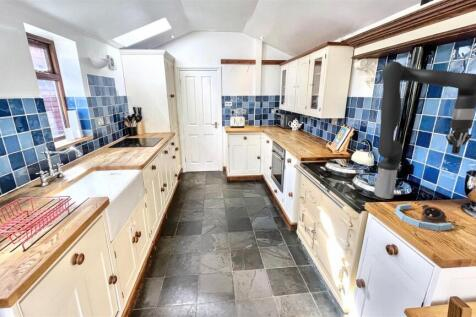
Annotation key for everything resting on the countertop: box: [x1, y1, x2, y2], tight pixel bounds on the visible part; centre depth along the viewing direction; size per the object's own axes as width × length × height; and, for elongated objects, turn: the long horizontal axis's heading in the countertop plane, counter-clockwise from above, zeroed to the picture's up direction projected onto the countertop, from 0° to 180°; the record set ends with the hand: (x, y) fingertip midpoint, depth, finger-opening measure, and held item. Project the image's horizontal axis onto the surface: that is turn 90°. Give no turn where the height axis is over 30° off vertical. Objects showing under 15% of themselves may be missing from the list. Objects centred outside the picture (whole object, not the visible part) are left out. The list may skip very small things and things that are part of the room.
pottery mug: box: [420, 204, 447, 224], centre depth 105 cm, size 12×9×8 cm
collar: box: [394, 203, 453, 231], centre depth 107 cm, size 14×21×2 cm
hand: (455, 153), depth 111 cm, fingers closed
